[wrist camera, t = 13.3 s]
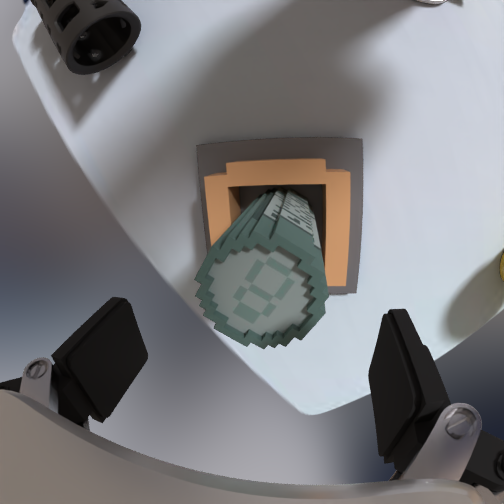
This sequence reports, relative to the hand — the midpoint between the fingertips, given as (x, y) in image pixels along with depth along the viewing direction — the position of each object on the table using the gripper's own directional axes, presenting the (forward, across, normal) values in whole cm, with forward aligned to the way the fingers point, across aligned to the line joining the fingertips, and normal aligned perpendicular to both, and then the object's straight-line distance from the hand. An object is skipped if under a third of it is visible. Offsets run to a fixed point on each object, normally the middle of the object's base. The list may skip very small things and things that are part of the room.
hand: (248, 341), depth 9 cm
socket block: (+20, 0, +1) cm, 20 cm away
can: (+19, 0, +1) cm, 19 cm away
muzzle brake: (+20, +24, -32) cm, 45 cm away
